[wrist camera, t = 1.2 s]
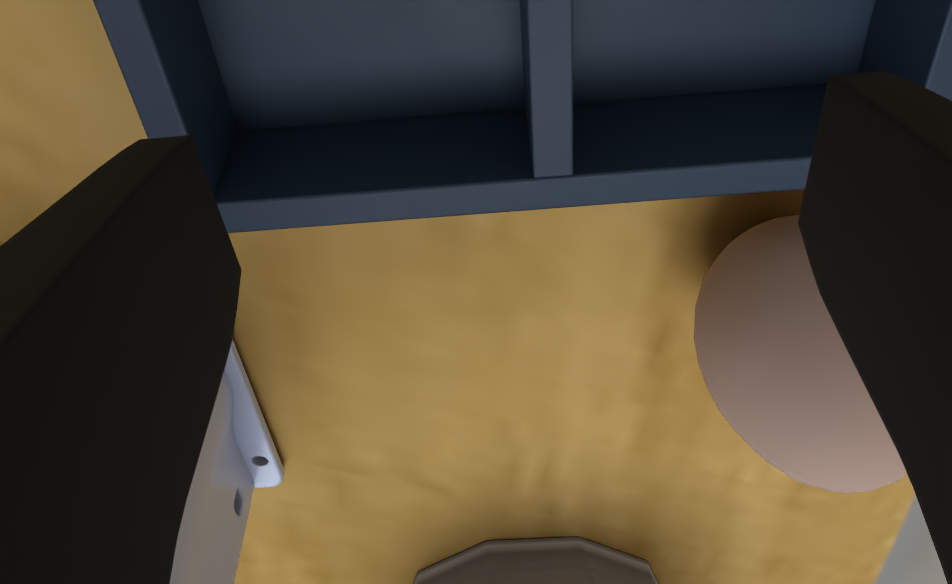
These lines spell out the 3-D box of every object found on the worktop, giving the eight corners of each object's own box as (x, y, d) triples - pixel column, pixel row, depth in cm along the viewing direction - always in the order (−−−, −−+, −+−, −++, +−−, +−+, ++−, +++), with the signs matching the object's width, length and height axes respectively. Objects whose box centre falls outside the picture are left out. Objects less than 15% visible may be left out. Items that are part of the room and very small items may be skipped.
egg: (919, 210, 22) (1076, 440, 16) (781, 340, 25) (873, 569, 19) (758, 131, 20) (873, 358, 15) (632, 281, 23) (687, 514, 18)
